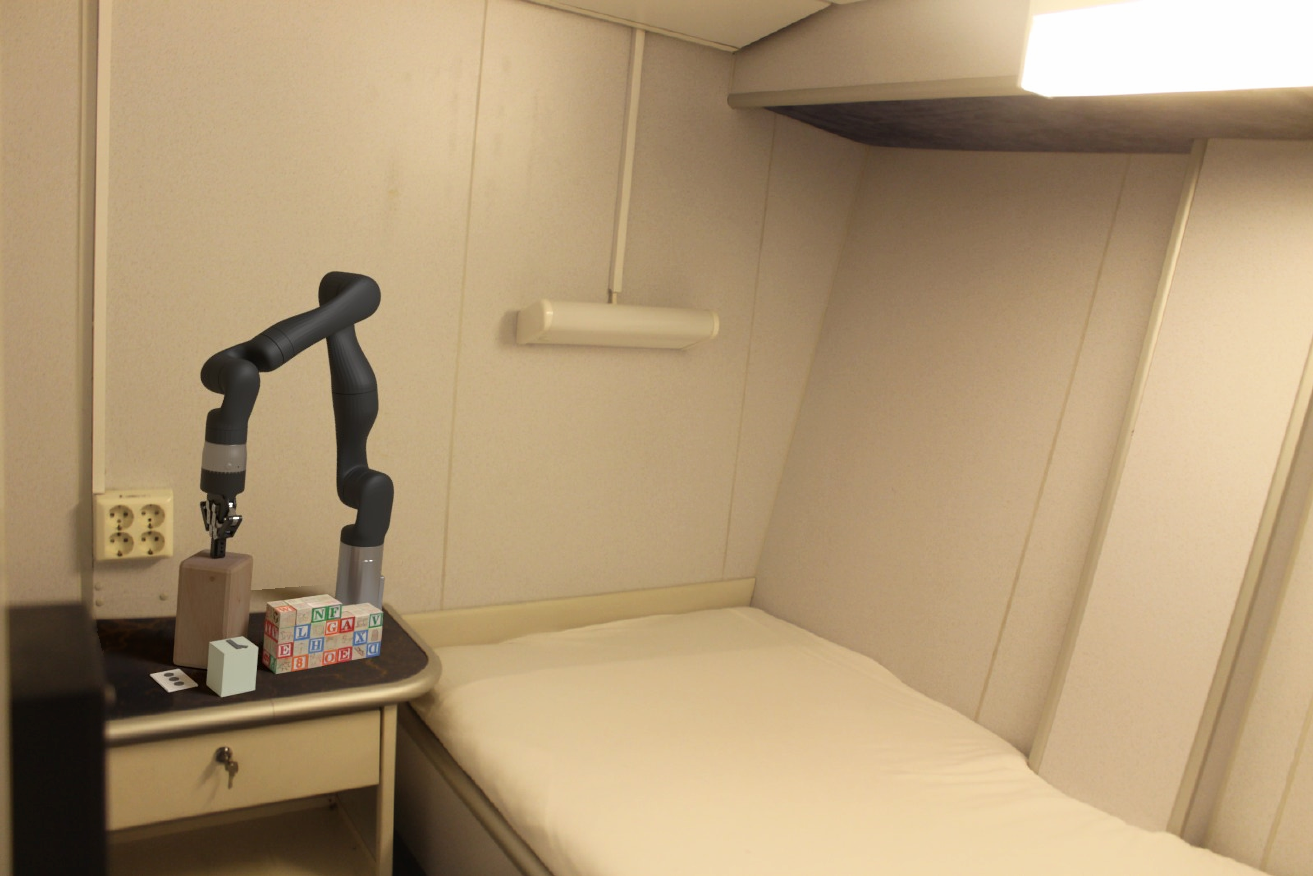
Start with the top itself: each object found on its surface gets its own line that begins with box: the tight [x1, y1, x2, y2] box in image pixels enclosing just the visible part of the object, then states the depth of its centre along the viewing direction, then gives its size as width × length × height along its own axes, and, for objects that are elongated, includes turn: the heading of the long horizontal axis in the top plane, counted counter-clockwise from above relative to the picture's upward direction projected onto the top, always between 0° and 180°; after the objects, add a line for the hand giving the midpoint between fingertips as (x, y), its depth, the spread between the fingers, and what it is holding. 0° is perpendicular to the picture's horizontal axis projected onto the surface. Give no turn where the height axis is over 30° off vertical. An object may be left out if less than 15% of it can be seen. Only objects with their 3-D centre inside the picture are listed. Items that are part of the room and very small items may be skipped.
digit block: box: [206, 636, 259, 698], centre depth 174 cm, size 6×6×8 cm
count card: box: [149, 668, 199, 693], centre depth 174 cm, size 8×5×1 cm, turn 47°
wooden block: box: [172, 548, 254, 670], centre depth 183 cm, size 10×10×20 cm
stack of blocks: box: [261, 593, 384, 675], centre depth 191 cm, size 21×6×12 cm, turn 133°
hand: (217, 557), depth 181 cm, fingers closed
